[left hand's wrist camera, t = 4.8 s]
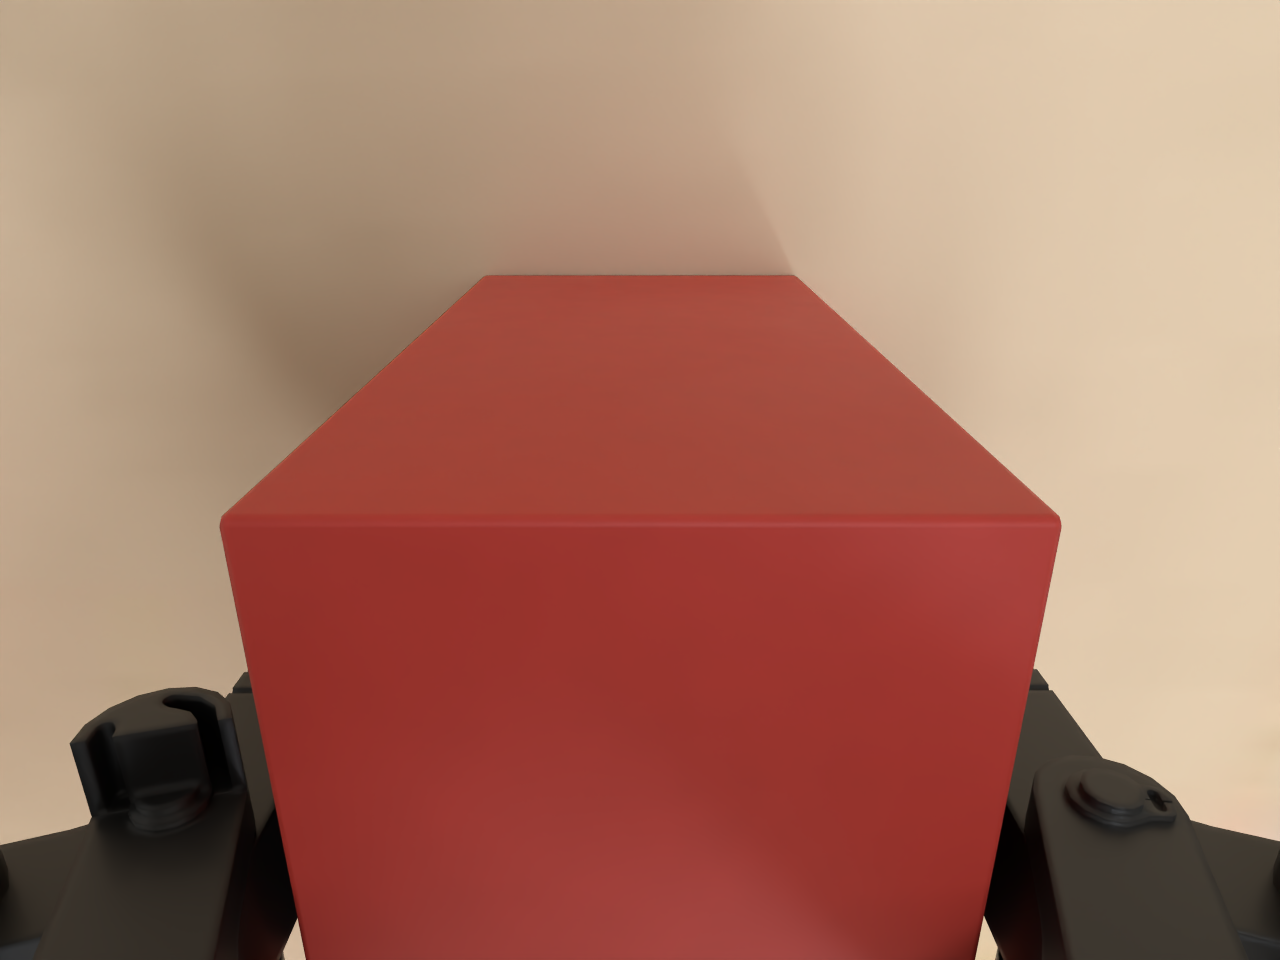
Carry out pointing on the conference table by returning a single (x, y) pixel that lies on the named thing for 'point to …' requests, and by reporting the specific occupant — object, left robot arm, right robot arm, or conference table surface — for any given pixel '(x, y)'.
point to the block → (640, 637)
